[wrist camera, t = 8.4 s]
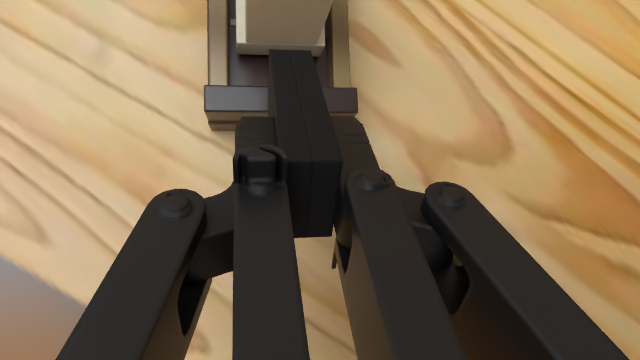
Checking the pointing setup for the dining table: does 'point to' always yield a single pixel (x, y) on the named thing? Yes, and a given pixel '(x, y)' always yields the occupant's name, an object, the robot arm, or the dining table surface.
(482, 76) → the dining table surface
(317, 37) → the score marker
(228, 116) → the brown wooden tray
